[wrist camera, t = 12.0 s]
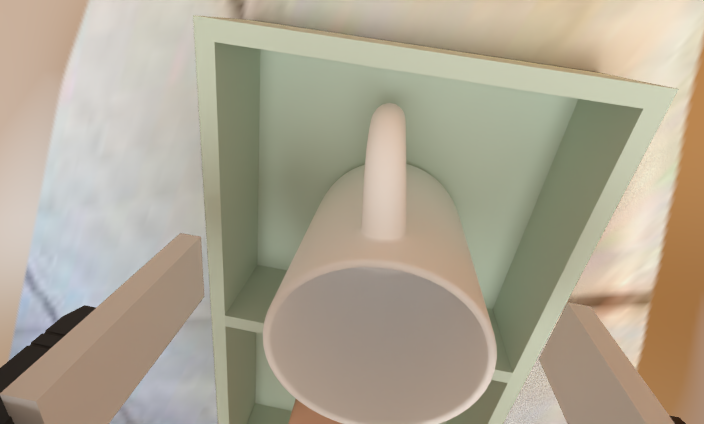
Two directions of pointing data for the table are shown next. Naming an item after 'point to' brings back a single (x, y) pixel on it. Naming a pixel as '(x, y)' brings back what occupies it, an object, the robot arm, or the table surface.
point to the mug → (382, 298)
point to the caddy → (421, 151)
